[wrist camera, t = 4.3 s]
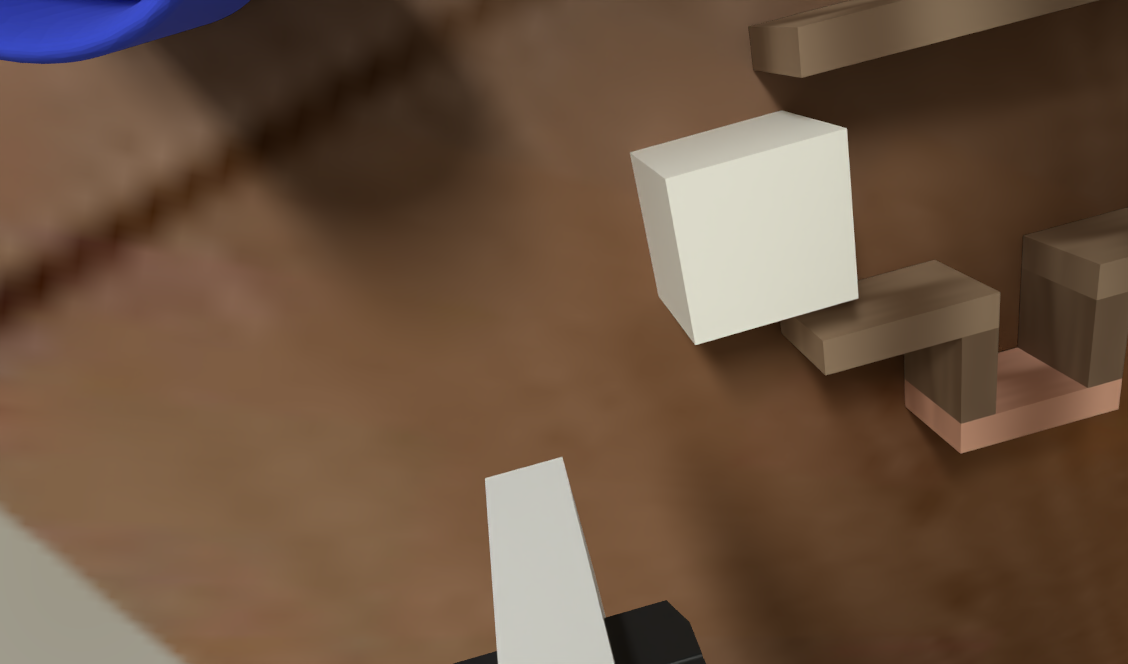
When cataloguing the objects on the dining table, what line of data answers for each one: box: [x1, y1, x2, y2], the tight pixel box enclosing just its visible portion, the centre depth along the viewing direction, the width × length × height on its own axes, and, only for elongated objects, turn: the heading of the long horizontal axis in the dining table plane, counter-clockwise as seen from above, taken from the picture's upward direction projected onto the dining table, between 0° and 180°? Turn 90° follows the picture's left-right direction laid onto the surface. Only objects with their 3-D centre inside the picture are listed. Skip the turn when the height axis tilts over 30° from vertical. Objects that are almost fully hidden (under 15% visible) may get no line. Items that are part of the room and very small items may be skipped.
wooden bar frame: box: [749, 0, 1128, 454], centre depth 28 cm, size 18×18×4 cm
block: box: [630, 110, 858, 345], centre depth 26 cm, size 6×6×5 cm
